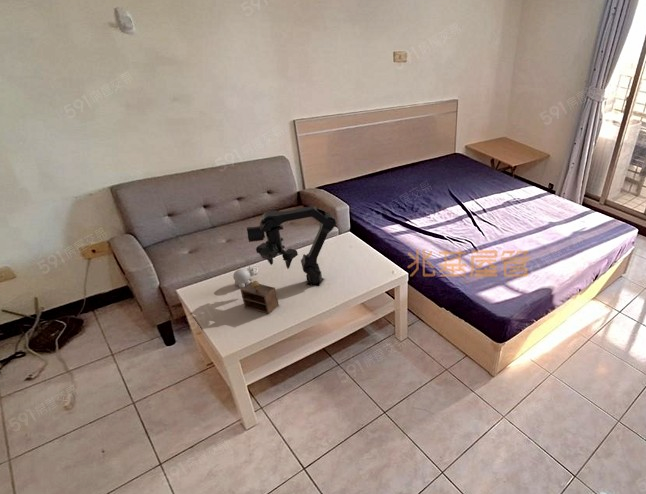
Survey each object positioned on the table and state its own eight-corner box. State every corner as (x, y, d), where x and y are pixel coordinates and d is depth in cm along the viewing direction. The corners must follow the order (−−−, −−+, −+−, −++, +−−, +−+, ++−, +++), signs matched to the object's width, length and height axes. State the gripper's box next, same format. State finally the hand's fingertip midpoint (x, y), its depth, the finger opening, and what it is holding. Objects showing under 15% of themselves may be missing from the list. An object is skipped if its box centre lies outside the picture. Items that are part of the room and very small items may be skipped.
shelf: (249, 273, 187) (238, 281, 182) (273, 279, 185) (263, 287, 179) (255, 299, 195) (244, 307, 189) (278, 305, 192) (268, 313, 186)
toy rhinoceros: (263, 279, 209) (260, 265, 204) (240, 290, 200) (236, 276, 196) (255, 274, 212) (252, 260, 207) (232, 284, 204) (228, 270, 199)
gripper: (244, 242, 184) (251, 270, 192) (279, 250, 180) (286, 279, 188) (261, 231, 193) (267, 259, 201) (295, 239, 189) (300, 267, 198)
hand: (280, 266), depth 197 cm, fingers open, 9 cm apart
